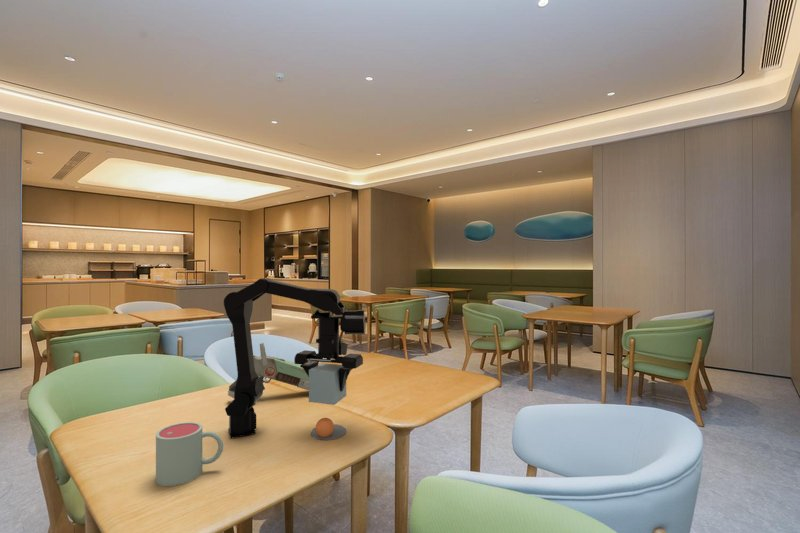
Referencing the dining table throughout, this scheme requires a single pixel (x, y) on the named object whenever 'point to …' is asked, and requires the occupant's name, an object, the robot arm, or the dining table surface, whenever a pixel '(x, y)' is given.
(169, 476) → the mug
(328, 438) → the circle
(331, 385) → the gray-blue matte cube
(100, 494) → the dining table surface
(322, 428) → the ball
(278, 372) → the ray gun
